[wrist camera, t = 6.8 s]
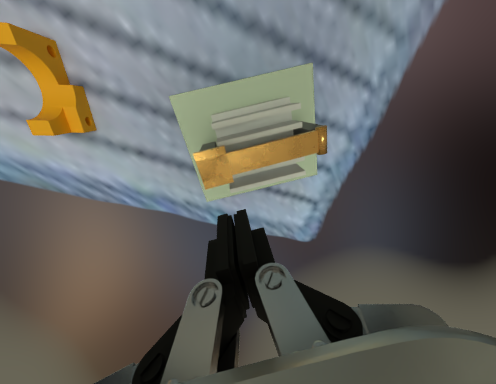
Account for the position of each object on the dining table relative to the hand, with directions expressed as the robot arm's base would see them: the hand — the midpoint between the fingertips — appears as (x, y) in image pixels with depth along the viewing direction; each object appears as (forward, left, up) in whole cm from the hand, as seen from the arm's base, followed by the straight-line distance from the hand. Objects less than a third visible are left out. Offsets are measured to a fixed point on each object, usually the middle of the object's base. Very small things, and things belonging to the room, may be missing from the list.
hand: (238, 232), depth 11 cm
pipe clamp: (+22, -14, -27) cm, 37 cm away
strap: (-5, 0, -15) cm, 16 cm away
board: (-5, 0, -27) cm, 27 cm away
